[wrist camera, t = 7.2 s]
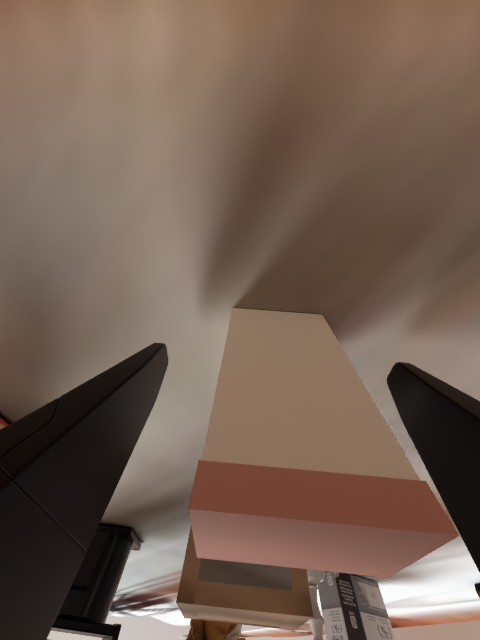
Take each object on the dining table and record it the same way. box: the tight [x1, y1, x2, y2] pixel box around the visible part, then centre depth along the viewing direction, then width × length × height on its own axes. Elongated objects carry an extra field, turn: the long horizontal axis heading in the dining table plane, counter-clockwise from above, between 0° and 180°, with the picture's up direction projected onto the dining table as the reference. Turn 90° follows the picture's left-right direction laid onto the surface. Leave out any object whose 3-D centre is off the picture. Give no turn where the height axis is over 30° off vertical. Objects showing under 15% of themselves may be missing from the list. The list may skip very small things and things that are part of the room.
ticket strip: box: [189, 308, 459, 578], centre depth 10 cm, size 15×4×7 cm, turn 177°
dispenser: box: [176, 526, 313, 630], centre depth 18 cm, size 7×9×6 cm
